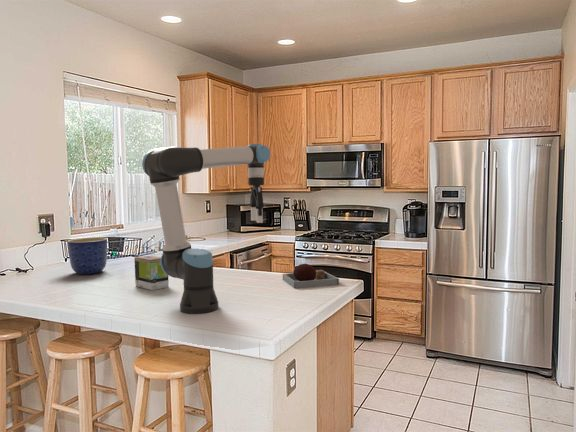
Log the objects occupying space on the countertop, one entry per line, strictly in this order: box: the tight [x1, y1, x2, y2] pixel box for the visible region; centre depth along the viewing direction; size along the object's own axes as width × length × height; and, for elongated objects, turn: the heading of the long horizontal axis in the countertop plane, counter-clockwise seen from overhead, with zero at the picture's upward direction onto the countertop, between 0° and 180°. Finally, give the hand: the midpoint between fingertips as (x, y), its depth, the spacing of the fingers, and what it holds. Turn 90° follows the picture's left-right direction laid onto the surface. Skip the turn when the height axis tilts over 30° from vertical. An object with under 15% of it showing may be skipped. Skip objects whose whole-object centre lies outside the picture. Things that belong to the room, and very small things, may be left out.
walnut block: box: [315, 269, 325, 280], centre depth 236 cm, size 4×4×4 cm
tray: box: [282, 270, 340, 289], centre depth 228 cm, size 22×20×4 cm
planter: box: [66, 236, 108, 276], centre depth 265 cm, size 21×21×19 cm
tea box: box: [134, 254, 170, 291], centre depth 227 cm, size 15×10×15 cm, turn 47°
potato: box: [292, 263, 317, 281], centre depth 228 cm, size 9×12×9 cm
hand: (256, 221), depth 224 cm, fingers open, 13 cm apart
